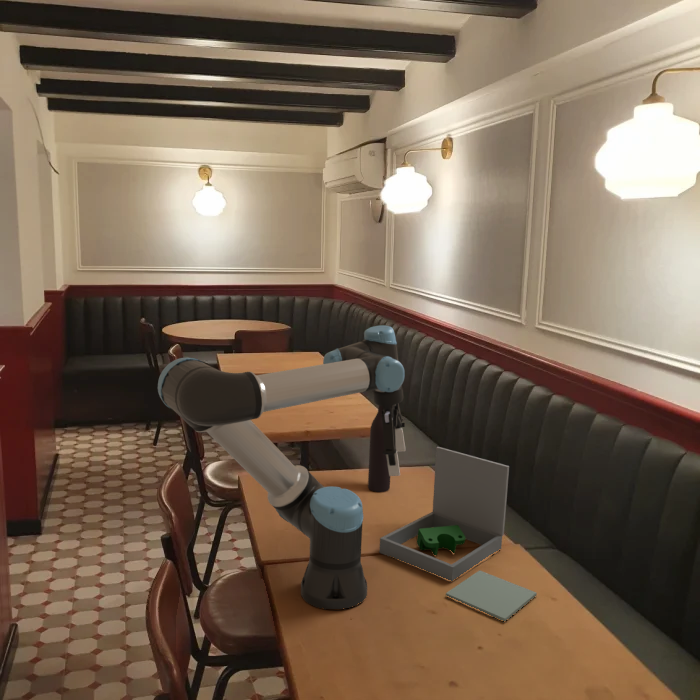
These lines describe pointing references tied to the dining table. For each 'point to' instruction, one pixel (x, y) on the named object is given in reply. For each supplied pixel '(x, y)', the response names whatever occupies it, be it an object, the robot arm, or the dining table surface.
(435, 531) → the clamp
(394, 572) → the dining table surface
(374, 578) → the dining table surface
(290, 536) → the dining table surface
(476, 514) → the case
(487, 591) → the mat
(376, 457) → the wine bottle
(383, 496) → the dining table surface
